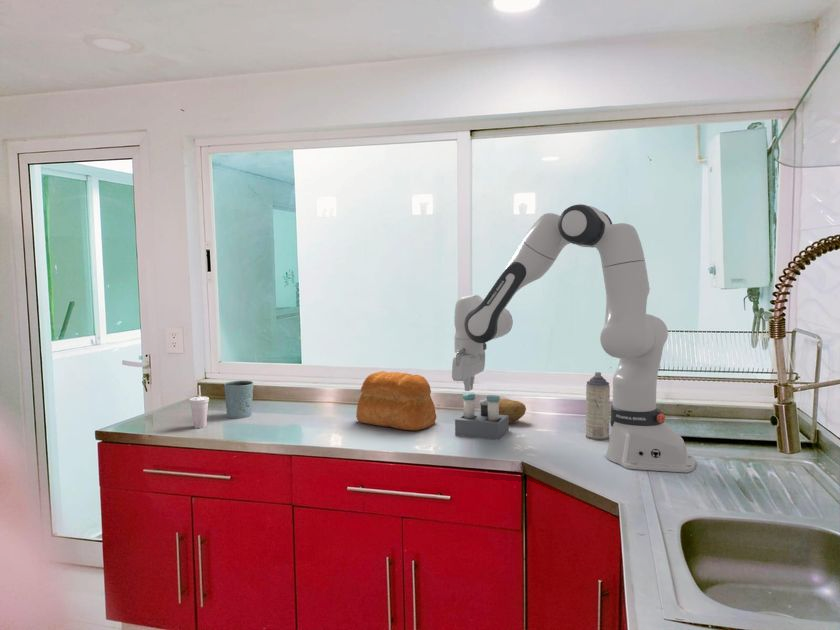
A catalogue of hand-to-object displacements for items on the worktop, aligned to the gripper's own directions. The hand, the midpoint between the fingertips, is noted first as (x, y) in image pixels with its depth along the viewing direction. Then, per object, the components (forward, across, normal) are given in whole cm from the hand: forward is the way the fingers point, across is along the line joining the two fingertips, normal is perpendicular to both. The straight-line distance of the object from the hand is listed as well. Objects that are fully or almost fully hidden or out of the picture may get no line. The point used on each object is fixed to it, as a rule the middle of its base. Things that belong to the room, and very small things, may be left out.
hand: (468, 390), depth 188 cm
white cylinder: (+9, 0, 0) cm, 9 cm away
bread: (+14, +2, +27) cm, 30 cm away
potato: (+14, +16, -7) cm, 23 cm away
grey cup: (+14, -11, +84) cm, 86 cm away
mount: (+14, +1, -4) cm, 14 cm away
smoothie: (+14, -28, +86) cm, 92 cm away
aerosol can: (+14, +10, -38) cm, 42 cm away
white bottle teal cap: (+9, 0, -8) cm, 12 cm away
